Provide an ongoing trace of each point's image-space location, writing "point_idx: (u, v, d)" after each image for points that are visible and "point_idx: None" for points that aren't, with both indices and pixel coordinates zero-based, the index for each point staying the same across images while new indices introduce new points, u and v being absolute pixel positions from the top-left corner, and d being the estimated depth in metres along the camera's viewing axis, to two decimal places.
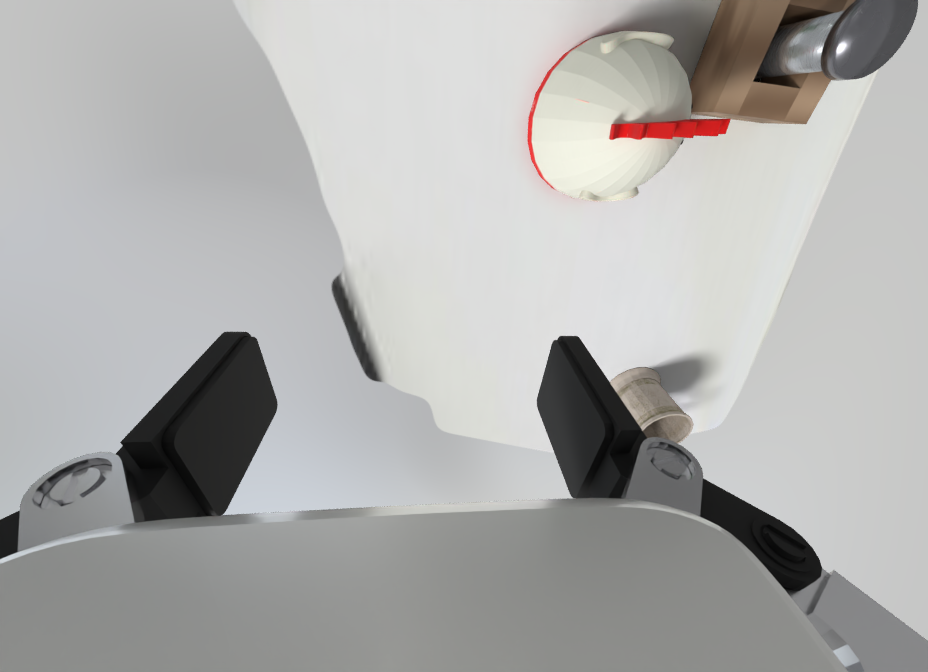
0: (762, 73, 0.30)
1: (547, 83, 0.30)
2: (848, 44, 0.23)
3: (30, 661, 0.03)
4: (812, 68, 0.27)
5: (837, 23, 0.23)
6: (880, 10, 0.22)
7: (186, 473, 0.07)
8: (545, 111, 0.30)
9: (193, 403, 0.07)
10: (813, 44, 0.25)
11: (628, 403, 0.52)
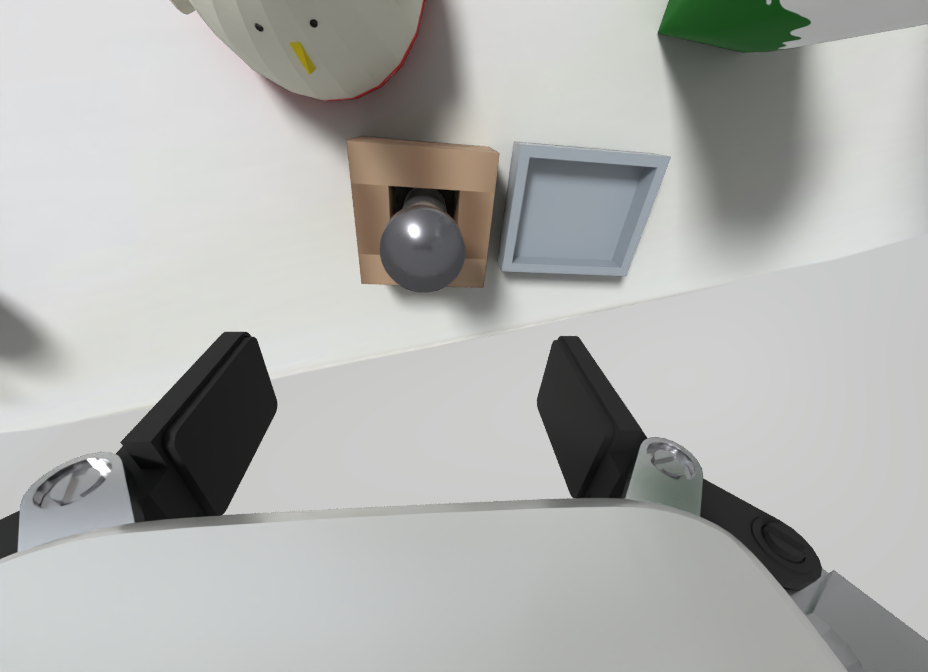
0: (403, 207, 0.25)
1: None
2: (410, 223, 0.18)
3: (30, 661, 0.03)
4: None
5: (431, 207, 0.19)
6: (442, 242, 0.19)
7: (186, 473, 0.07)
8: None
9: (193, 403, 0.07)
10: None
11: None
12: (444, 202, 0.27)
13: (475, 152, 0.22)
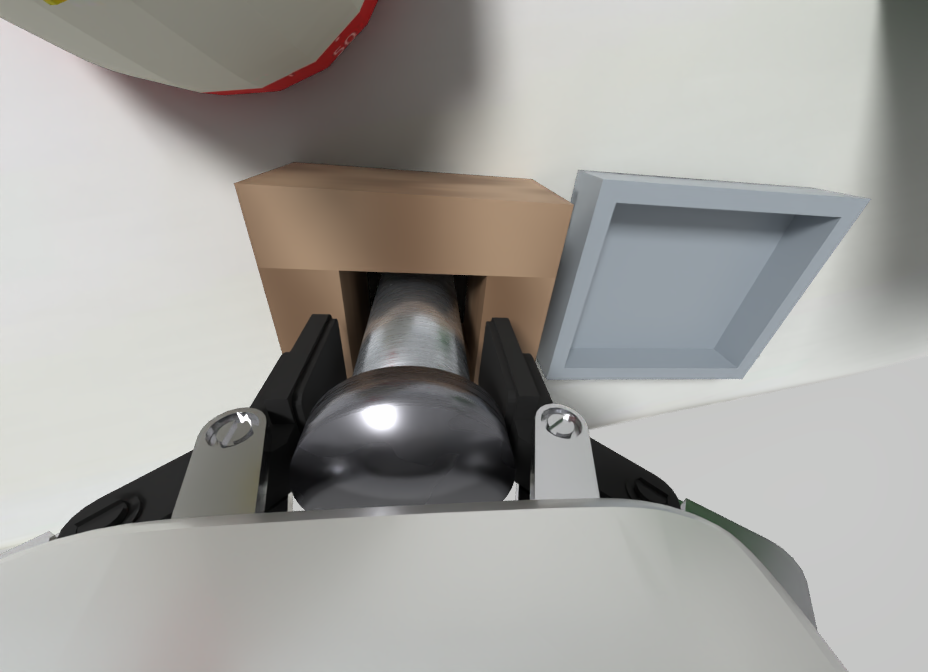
0: (375, 298, 0.13)
1: None
2: (367, 434, 0.06)
3: (30, 661, 0.03)
4: None
5: (428, 374, 0.07)
6: (458, 463, 0.07)
7: None
8: None
9: (307, 370, 0.08)
10: (396, 350, 0.09)
11: None
12: (451, 275, 0.16)
13: (523, 204, 0.10)
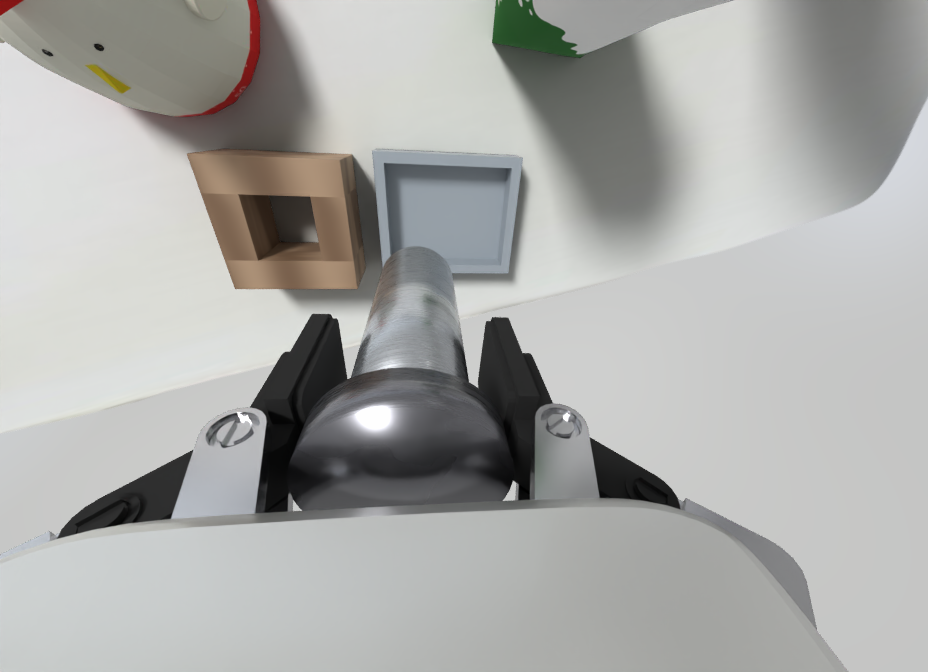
0: None
1: None
2: (365, 436, 0.06)
3: (29, 661, 0.03)
4: None
5: (426, 376, 0.07)
6: (457, 464, 0.07)
7: None
8: None
9: (307, 370, 0.08)
10: (395, 351, 0.09)
11: None
12: (451, 276, 0.16)
13: (315, 160, 0.23)
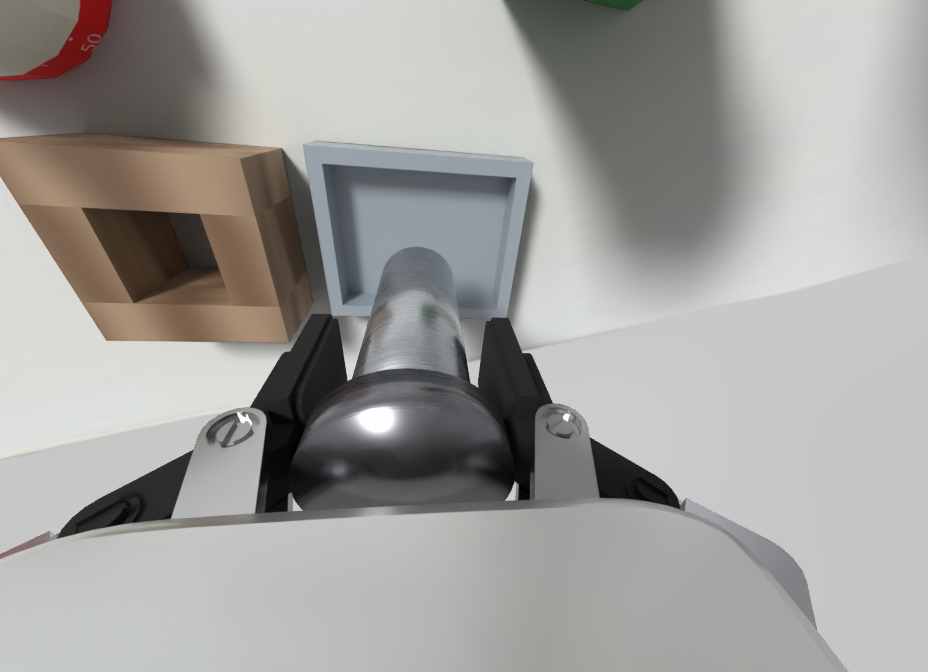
0: None
1: None
2: (368, 437, 0.06)
3: (30, 661, 0.03)
4: None
5: (428, 377, 0.07)
6: (458, 465, 0.07)
7: None
8: None
9: (307, 371, 0.08)
10: (396, 352, 0.09)
11: None
12: (451, 276, 0.16)
13: (200, 157, 0.14)
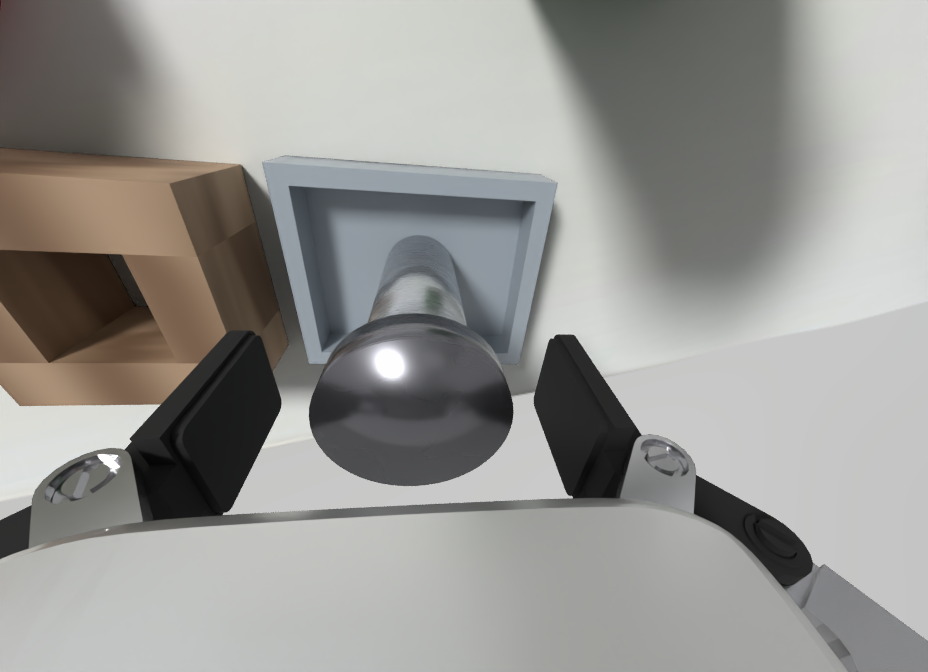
0: None
1: None
2: (381, 367, 0.07)
3: (30, 661, 0.03)
4: None
5: (434, 320, 0.08)
6: (462, 401, 0.08)
7: (193, 470, 0.07)
8: None
9: (200, 400, 0.07)
10: (404, 311, 0.10)
11: None
12: (452, 262, 0.17)
13: (114, 182, 0.11)
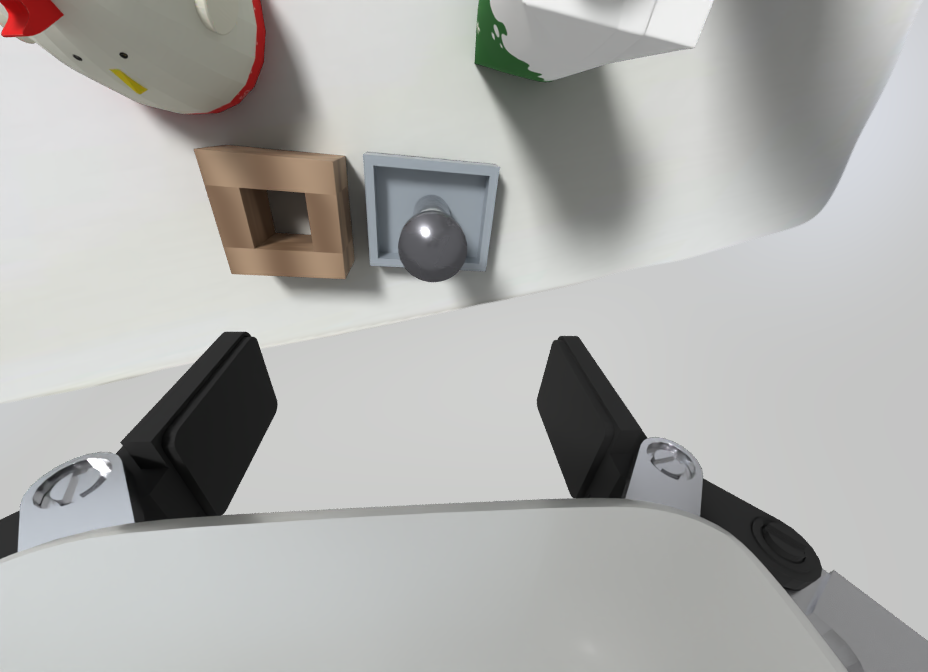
0: (414, 213, 0.30)
1: None
2: (423, 224, 0.23)
3: (30, 661, 0.03)
4: None
5: (440, 212, 0.23)
6: (449, 241, 0.24)
7: (186, 473, 0.07)
8: None
9: (193, 403, 0.07)
10: None
11: None
12: (448, 209, 0.32)
13: (311, 160, 0.26)
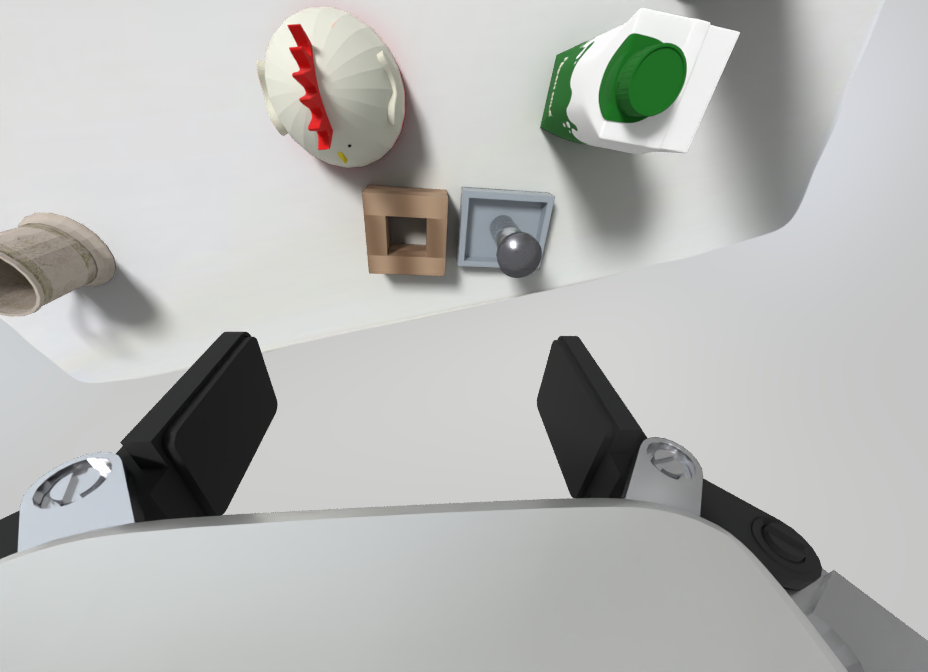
0: (495, 229, 0.43)
1: (359, 19, 0.32)
2: (516, 241, 0.36)
3: (30, 661, 0.03)
4: None
5: (525, 233, 0.37)
6: (531, 251, 0.37)
7: (186, 473, 0.07)
8: (332, 9, 0.30)
9: (193, 403, 0.07)
10: None
11: (26, 234, 0.38)
12: None
13: (434, 197, 0.39)
